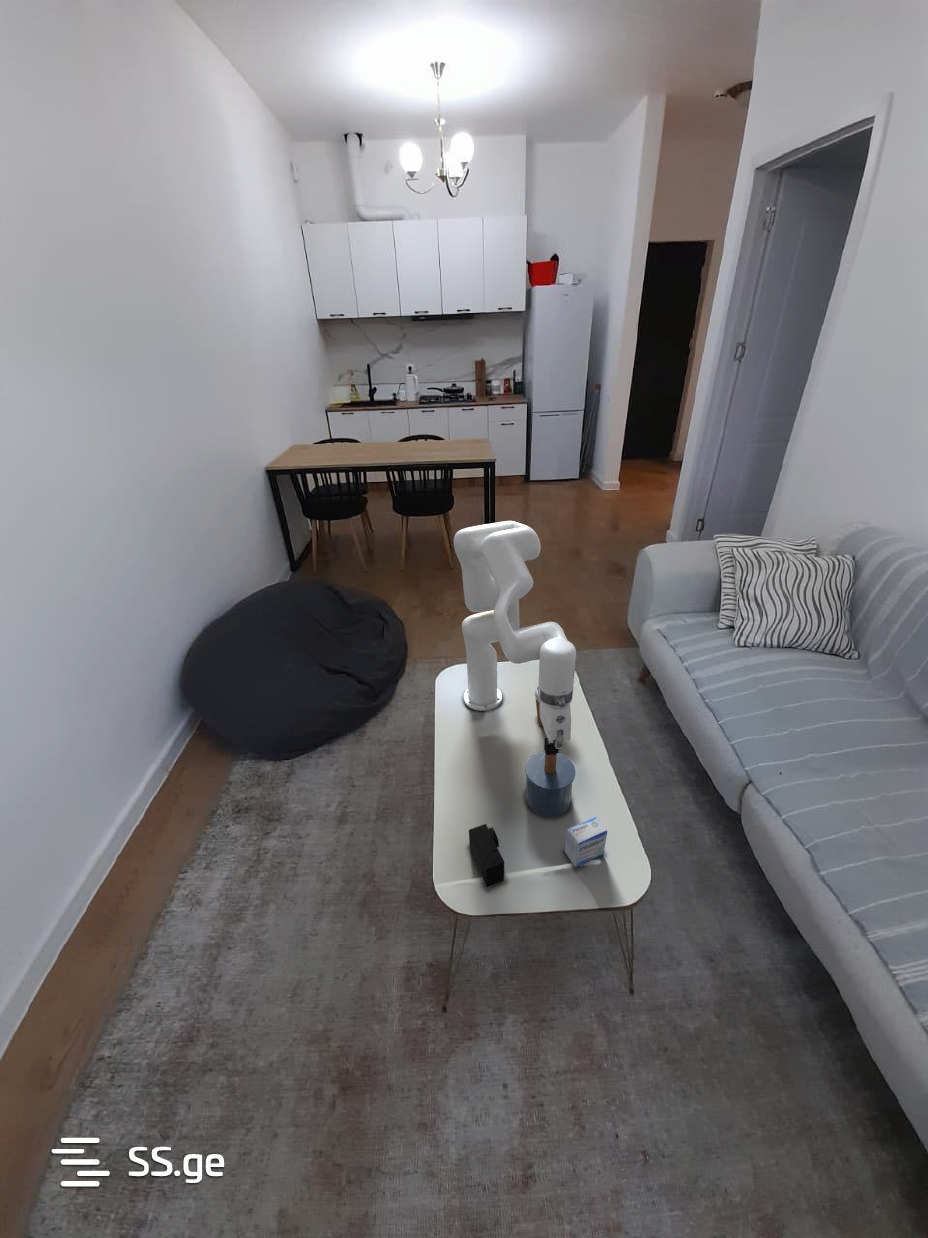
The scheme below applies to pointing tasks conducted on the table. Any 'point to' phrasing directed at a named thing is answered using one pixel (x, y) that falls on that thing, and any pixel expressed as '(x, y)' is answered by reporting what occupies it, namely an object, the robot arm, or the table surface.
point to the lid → (550, 771)
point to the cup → (548, 799)
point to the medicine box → (585, 841)
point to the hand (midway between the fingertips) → (551, 751)
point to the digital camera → (487, 854)
